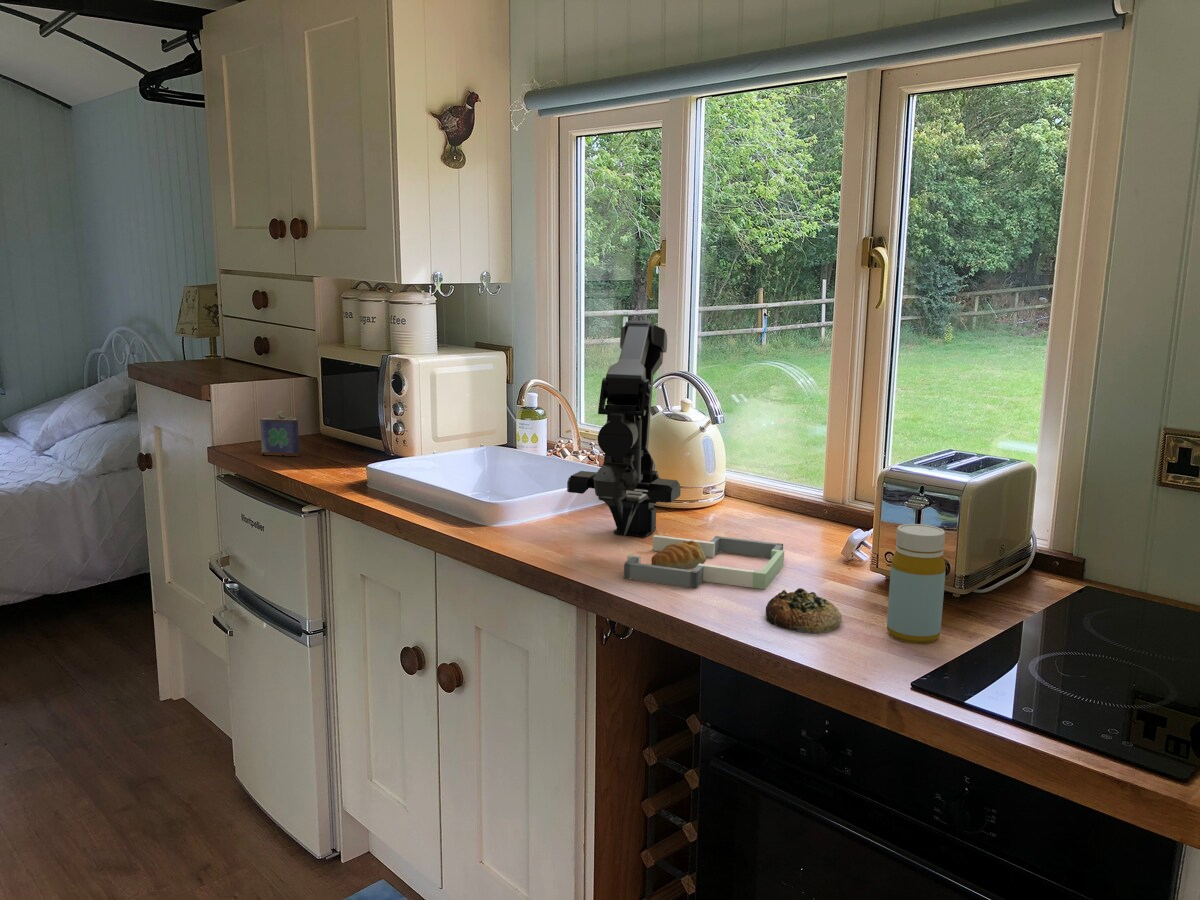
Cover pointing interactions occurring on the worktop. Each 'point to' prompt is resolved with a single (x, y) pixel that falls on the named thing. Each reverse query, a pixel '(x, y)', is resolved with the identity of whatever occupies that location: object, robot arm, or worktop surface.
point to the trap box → (710, 572)
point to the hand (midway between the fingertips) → (622, 535)
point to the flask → (280, 434)
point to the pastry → (680, 556)
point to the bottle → (917, 584)
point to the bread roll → (803, 612)
